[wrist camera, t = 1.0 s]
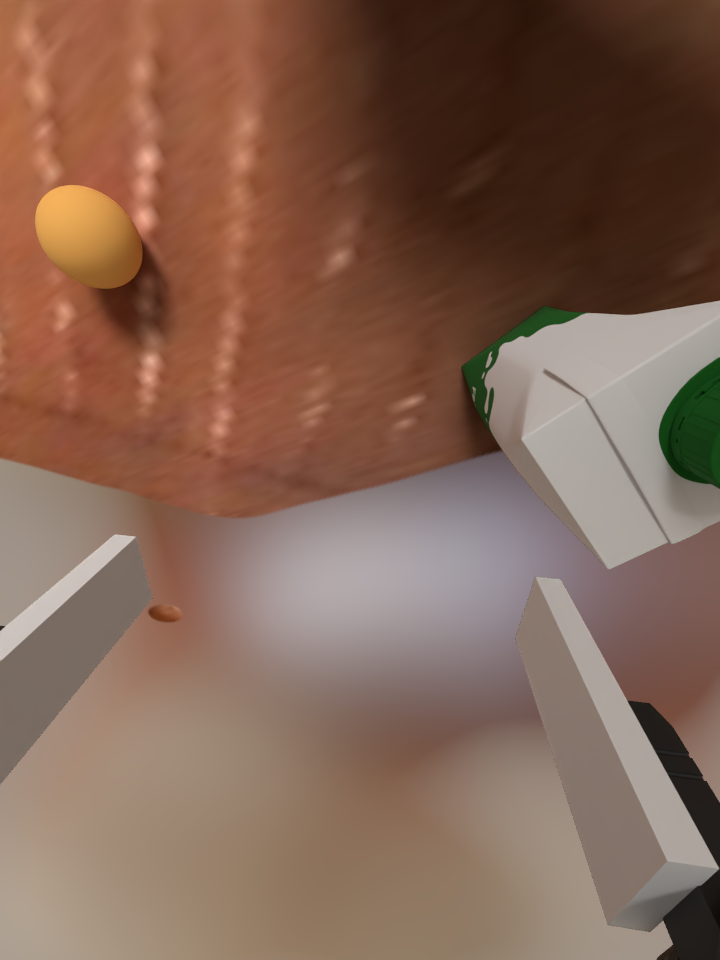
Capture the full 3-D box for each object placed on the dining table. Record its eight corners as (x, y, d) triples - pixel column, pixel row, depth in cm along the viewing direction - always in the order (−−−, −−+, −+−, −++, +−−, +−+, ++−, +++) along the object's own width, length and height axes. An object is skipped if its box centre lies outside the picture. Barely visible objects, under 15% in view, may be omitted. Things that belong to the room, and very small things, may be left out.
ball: (74, 194, 28) (-5, 167, 22) (153, 201, 27) (93, 177, 22) (91, 285, 30) (24, 282, 25) (164, 293, 30) (112, 291, 25)
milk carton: (603, 382, 30) (916, 505, 12) (500, 447, 33) (624, 624, 15) (549, 285, 27) (841, 253, 9) (443, 365, 30) (509, 458, 12)
